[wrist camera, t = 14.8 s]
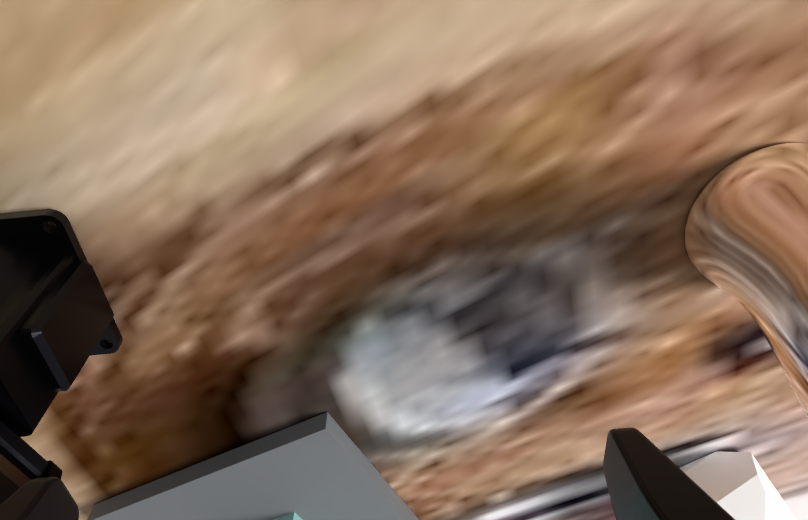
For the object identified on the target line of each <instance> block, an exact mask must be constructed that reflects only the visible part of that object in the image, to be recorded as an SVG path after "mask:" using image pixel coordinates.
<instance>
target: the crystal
mask: <svg viewBox="0 0 808 520" xmlns="http://www.w3.org/2000/svg"><path fill="white" fill-rule="evenodd" d="M680 469H681V470H682V471H683V472H684V473H685V474H686V475H687V476H688V477H690V478H691V479H692V480H693V481H694V482H695V483H696V484H697V485H698V486H699V487H700V488H701V489H703V490H704V491H705V492H706V493H707V494H708V495H709V496H710V497H711V498H712V499H713V500H715V501H716V502H717V503H718V504H719V505H720V506H721V507H722V508H723V509H724V510H725V511H726V512H728V513H729V514H730V515H731V516H732V517H733V518H734V519H735V520H796V518H795V517H794V515H793V514H792V512H791V511H790V509H789V508H788V506H787V505H786V503H785V502H784V500H783V499H782V497H781V496H780V495H779V493H778V492H777V490H776V489H775V487H774V486H773V484H772V483H771V481H770V480H769V478H768V477H767V475H766V474H765V472H764V471H763V469H762V468H761V467H760V465H759V464H758V462H757V461H756V459H755V458H754V456H753V455H752V453H750V452H720V451H716V452H713V453H711V454H709V455H707V456H704V457H702V458H700V459H698V460H695V461H693V462H691V463H689V464H686V465H684V466H682V467H680Z"/></svg>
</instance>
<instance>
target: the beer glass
mask: <svg viewBox="0 0 808 520" xmlns="http://www.w3.org/2000/svg"><path fill="white" fill-rule="evenodd" d="M685 245H686V250H687V253H688V255H689V258H690V260H691V262H692V263H693V265H694V266H695V267H696V268H697V269H698V271H699V272H700V273H701V274H702V275H704V276H705V277H706V278H707V279H708V280H710V281H711V282H712V283H714V284H715V285H716V286H718V287H719V288H721V289H722V290H723V291H725V292H726V293H727V294H729V295H730V296H732V297H733V298H734V299H735V300H736V301H738V302H739V303H740V304H741V305H742V306H743V307H744V308H745V309H746V310H747V311H748V313H749V314H750V315H751V316H752V318H753V319H754V320H755V322H756V323H757V325H758V326H759V327H760V329H761V330H762V332H763V334H764V336H765V338H766V339H767V341H768V343H769V345H770V347H771V348H772V350H773V352H774V354H775V356H776V358H777V360H778V362H779V364H780V366H781V368H782V370H783V372H784V374H785V376H786V378H787V380H788V382H789V383H790V385H791V387H792V389H793V391H794V393H795V395H796V397H797V399H798V401H799V402H800V404H801V406H802V408H803V410H804V412H805V414H806V416H807V418H808V144H807V143H783V144H777V145H772V146H768V147H765V148H762V149H759V150H756V151H754V152H751V153H749V154H747V155H745V156H743V157H741V158H740V159H738V160H736V161H735V162H733V163H732V164H730V165H729V166H727V167H726V168H725V169H723V170H722V171H721V172H720V173H719V174H717V175H716V176H715V177H714V178H713V179H712V180H711V181H710V182H709V183H708V184H707V186H706V187H705V188H704V189H703V191H702V192H701V193H700V195H699V196H698V198H697V199H696V201H695V203H694V204H693V206H692V208H691V211H690V213H689V216H688V219H687V222H686V227H685Z"/></svg>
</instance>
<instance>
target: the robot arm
mask: <svg viewBox="0 0 808 520" xmlns="http://www.w3.org/2000/svg"><path fill="white" fill-rule="evenodd" d="M48 221H51V222H53V223H55V224H56V226H57V228H54V227H52V226H51V225H50V224H49V223H48ZM113 316H114V314H113V311H112V309H111V307H110V305H109V303H108V300H107V298H106V296H105V294H104V292H103V289H102V287H101V285H100V283H99V281H98V278H97V276H96V274H95V272H94V270H93V267H92V266H91V265H90V264H89V263H88V261H87V259H86V257H85V255H84V253H83V250H82V248H81V246H80V244H79V242H78V239H77V237H76V235H75V233H74V231H73V229H72V226H71V224H70V222H69V220H68V219H67V217H66V216H65V215H64V214H62V213H61V212H59V211H56V210H42V211H31V212H21V213H11V214H0V520H78V519H79V510H78V506H77V504H76V502H75V501H74V499H73V498H72V496H71V495H70V493H69V491H68V490H67V488H66V487H65V485H64V484H63V482H62V481H61V476H62V470H61V469H60V468H59V467H58V466H57V465H55V464H54V463H53V462H52V461H51V460H50V461H46V460H45V459H44V458H43V457H42V456H41V455H39V454H38V453H37V452H36V451H35V450H34V449H33V448H32V447H30V446H29V445H28V444H27V443H26V442H25V441H24V440H23V439H22V438H20V437H23V436H29V435H31V434H32V433H33V431H34V429H35V428H36V426H37V425H38V423H39V422H40V420H41V418H42V417H43V415H44V414H45V412H46V411H47V409H48V407H49V406H50V404H51V403H52V401H53V399H54V398H55V396H56V395H57V393H58V392H59V391H67V390H68V389H69V387H70V386H71V385H72V383H73V381H74V380H75V378H76V377H77V375H78V373H79V372H80V370H81V368H82V367H83V365H84V364H85V362H86V360H87V359H88V357H89V355H99V354H110V353H114V352H116V351H117V350H118V349H119V347H120V345H121V343H122V341H123V340H122V336H121V334H120V331H119V329H118V327H117V325H116V323H115V320H114V318H113ZM106 340H109V341H111V342H107V341H106ZM604 474H605V478H606V482H607V486H608V490H609V493H610V497H611V501H612V505H613V509H614V512H615V516H616V520H735V519H734V518H733V517H732V516H731V515H730V514H729V513H728V512H726V511H725V510H724V509H723V508H722V507H721V506H720V505H719V504H718V503H717V502H716V501H715V500H713V499H712V498H711V497H710V496H709V495H708V494H707V493H706V492H705V491H704V490H703V489H701V488H700V487H699V486H698V485H697V484H696V483H695V482H694V481H693V480H692V479H691V478H690V477H688V476H687V475H686V474H685V473H684V472H683V471H682V470H681V469H680V468H679V467H678V466H677V465H675V464H674V463H673V462H672V461H671V460H670V459H669V458H668V457H667V456H666V455H665V454H664V453H662V452H661V451H660V450H659V449H658V448H657V447H656V446H655V445H654V444H653V443H652V442H651V441H649V440H648V439H647V438H646V437H645V436H644V435H643V434H642V433H641V432H640V431H638V430H637V429H635V428H619V429H612V430H610V431H609V433H608V435H607V442H606V449H605V455H604Z"/></svg>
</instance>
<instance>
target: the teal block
mask: <svg viewBox="0 0 808 520" xmlns="http://www.w3.org/2000/svg"><path fill="white" fill-rule="evenodd" d="M273 520H302V519H301V518H300V517H299V516H298V515H297V514H296V513H295V512H292V513H290V514H287V515H284V516H281V517H279V518H276V519H273Z"/></svg>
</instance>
